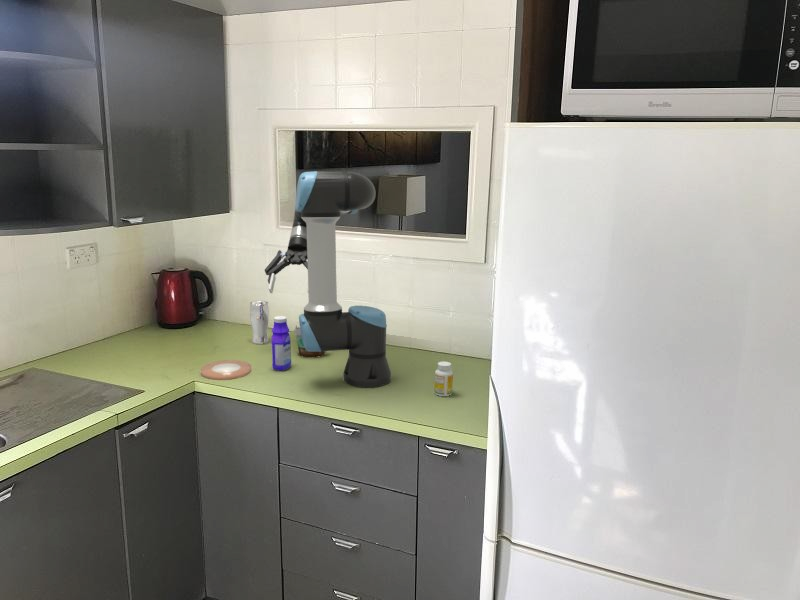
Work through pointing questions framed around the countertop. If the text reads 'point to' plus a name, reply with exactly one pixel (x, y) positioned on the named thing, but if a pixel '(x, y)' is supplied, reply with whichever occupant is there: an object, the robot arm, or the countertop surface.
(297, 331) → the food container
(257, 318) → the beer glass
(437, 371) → the supplement bottle
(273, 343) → the bottle
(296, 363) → the countertop surface
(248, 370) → the plate
